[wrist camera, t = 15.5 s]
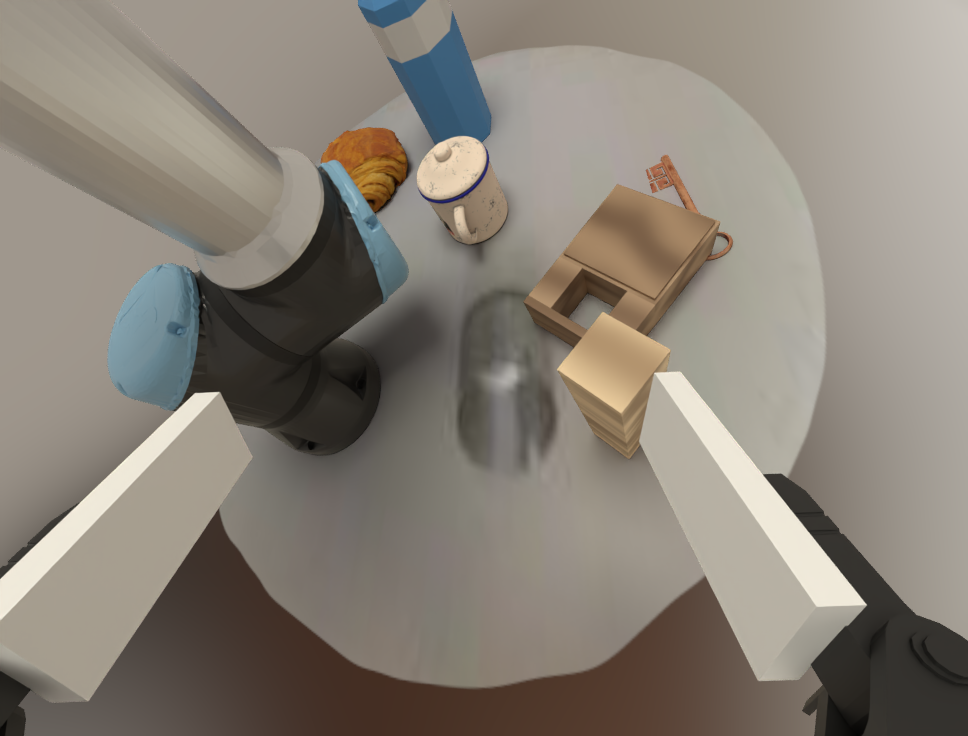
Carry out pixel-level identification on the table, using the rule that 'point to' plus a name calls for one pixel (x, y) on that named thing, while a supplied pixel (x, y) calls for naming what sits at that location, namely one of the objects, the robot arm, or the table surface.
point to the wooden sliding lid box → (624, 263)
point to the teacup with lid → (463, 189)
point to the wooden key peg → (614, 380)
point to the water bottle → (431, 65)
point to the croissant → (370, 162)
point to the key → (682, 192)
